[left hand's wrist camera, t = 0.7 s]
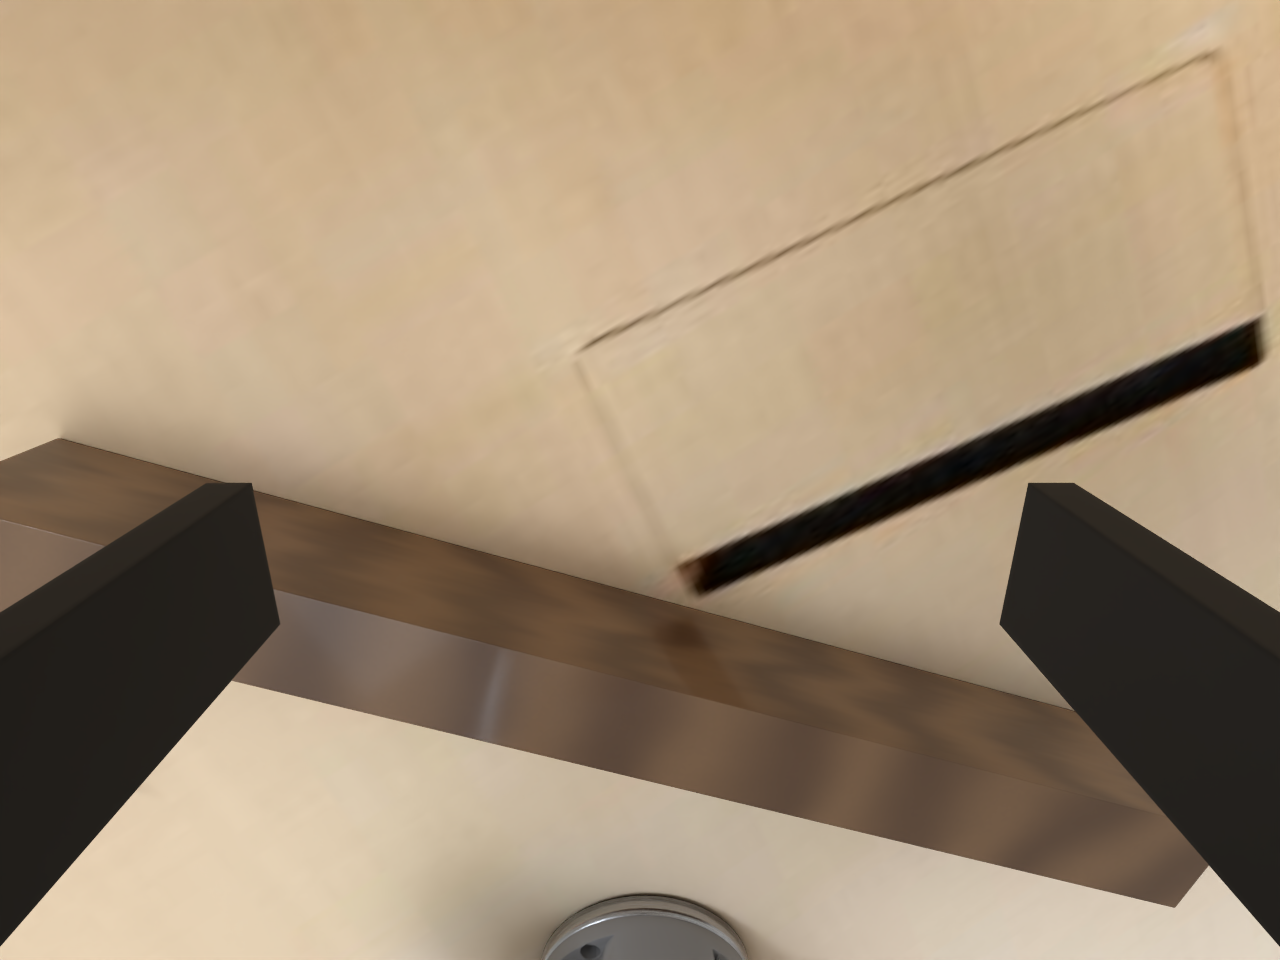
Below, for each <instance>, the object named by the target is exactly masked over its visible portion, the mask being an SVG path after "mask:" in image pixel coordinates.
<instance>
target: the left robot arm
mask: <svg viewBox="0 0 1280 960" xmlns="http://www.w3.org/2000/svg"><path fill="white" fill-rule="evenodd" d="M279 625H280V619H279V614H278V610H277V605H276V600H275V595H274V590H273V585H272V580H271V575H270V571H269V566H268V561H267V556H266V551H265V546H264V541H263V536H262V531H261V527H260V522H259V517H258V512H257V507H256V502H255V497H254V492H253V487H252V483H205V484H204V485H202V486H201V487H199V488H197V489H196V490H194V491H193V492H191V493H189V494H188V495H186V496H185V497H183V498H182V499H180V500H178V501H177V502H175V503H174V504H172V505H170V506H169V507H167V508H166V509H164V510H162V511H161V512H159V513H158V514H156V515H154V516H153V517H151V518H150V519H148V520H147V521H145V522H143V523H142V524H140V525H139V526H137V527H135V528H134V529H132V530H131V531H129V532H127V533H126V534H124V535H123V536H121V537H119V538H118V539H116V540H115V541H113V542H111V543H110V544H108V545H107V546H105V547H104V548H102V549H100V550H99V551H97V552H96V553H94V554H92V555H91V556H89V557H88V558H86V559H84V560H83V561H81V562H80V563H78V564H76V565H75V566H73V567H72V568H70V569H69V570H67V571H65V572H64V573H62V574H61V575H59V576H57V577H56V578H54V579H53V580H51V581H49V582H48V583H46V584H45V585H43V586H41V587H40V588H38V589H37V590H35V591H34V592H32V593H30V594H29V595H27V596H26V597H24V598H22V599H21V600H19V601H18V602H16V603H14V604H13V605H11V606H10V607H8V608H6V609H5V610H3V611H2V612H0V946H1V945H2V944H3V943H4V942H5V940H6V939H7V938H8V937H9V936H10V935H11V934H12V932H13V931H14V930H15V929H16V928H17V927H18V926H19V924H20V923H21V922H22V921H23V920H24V919H25V917H26V916H27V915H28V914H29V913H30V912H31V911H32V909H33V908H34V907H35V906H36V905H37V904H38V902H39V901H40V900H41V899H42V898H43V897H44V896H45V894H46V893H47V892H48V891H49V890H50V889H51V888H52V886H53V885H54V884H55V883H56V882H57V881H58V879H59V878H60V877H61V876H62V875H63V874H64V873H65V871H66V870H67V869H68V868H69V867H70V866H71V865H72V863H73V862H74V861H75V860H76V859H77V858H78V856H79V855H80V854H81V853H82V852H83V851H84V850H85V848H86V847H87V846H88V845H89V844H90V843H91V842H92V840H93V839H94V838H95V837H96V836H97V835H98V833H99V832H100V831H101V830H102V829H103V828H104V827H105V825H106V824H107V823H108V822H109V821H110V820H111V819H112V817H113V816H114V815H115V814H116V813H117V812H118V810H119V809H120V808H121V807H122V806H123V805H124V804H125V802H126V801H127V800H128V799H129V798H130V797H131V795H132V794H133V793H134V792H135V791H136V790H137V789H138V787H139V786H140V785H141V784H142V783H143V782H144V781H145V779H146V778H147V777H148V776H149V775H150V774H151V772H152V771H153V770H154V769H155V768H156V767H157V766H158V764H159V763H160V762H161V761H162V760H163V759H164V758H165V756H166V755H167V754H168V753H169V752H170V751H171V749H172V748H173V747H174V746H175V745H176V744H177V743H178V741H179V740H180V739H181V738H182V737H183V736H184V735H185V733H186V732H187V731H188V730H189V729H190V728H191V726H192V725H193V724H194V723H195V722H196V721H197V720H198V718H199V717H200V716H201V715H202V714H203V713H204V712H205V710H206V709H207V708H208V707H209V706H210V705H211V703H212V702H213V701H214V700H215V699H216V698H217V697H218V695H219V694H220V693H221V692H222V691H223V690H224V688H225V687H226V686H227V685H228V684H229V683H230V682H231V680H232V679H233V678H234V677H235V676H236V675H237V674H238V672H239V671H240V670H241V669H242V668H243V667H244V665H245V664H246V663H247V662H248V661H249V660H250V659H251V657H252V656H253V655H254V654H255V653H256V652H257V651H258V649H259V648H260V647H261V646H262V645H263V644H264V642H265V641H266V640H267V639H268V638H269V637H270V636H271V634H272V633H273V632H274V631H275V630H276V629H277V628H278V626H279ZM1000 625H1001V626H1002V628H1003V629H1004V630H1005V631H1006V632H1007V633H1008V634H1009V636H1010V637H1011V638H1012V639H1013V640H1014V641H1015V642H1016V644H1017V645H1018V646H1019V647H1020V648H1021V649H1022V651H1023V652H1024V653H1025V654H1026V655H1027V656H1028V657H1029V659H1030V660H1031V661H1032V662H1033V663H1034V664H1035V665H1036V667H1037V668H1038V669H1039V670H1040V671H1041V672H1042V674H1043V675H1044V676H1045V677H1046V678H1047V679H1048V680H1049V682H1050V683H1051V684H1052V685H1053V686H1054V687H1055V688H1056V690H1057V691H1058V692H1059V693H1060V694H1061V695H1062V697H1063V698H1064V699H1065V700H1066V701H1067V702H1068V703H1069V705H1070V706H1071V707H1072V708H1073V709H1074V710H1075V712H1076V713H1077V714H1078V715H1079V716H1080V717H1081V718H1082V720H1083V721H1084V722H1085V723H1086V724H1087V725H1088V726H1089V728H1090V729H1091V730H1092V731H1093V732H1094V733H1095V735H1096V736H1097V737H1098V738H1099V739H1100V740H1101V741H1102V743H1103V744H1104V745H1105V746H1106V747H1107V748H1108V749H1109V751H1110V752H1111V753H1112V754H1113V755H1114V756H1115V758H1116V759H1117V760H1118V761H1119V762H1120V763H1121V764H1122V766H1123V767H1124V768H1125V769H1126V770H1127V771H1128V772H1129V774H1130V775H1131V776H1132V777H1133V778H1134V779H1135V781H1136V782H1137V783H1138V784H1139V785H1140V786H1141V787H1142V789H1143V790H1144V791H1145V792H1146V793H1147V794H1148V795H1149V797H1150V798H1151V799H1152V800H1153V801H1154V802H1155V804H1156V805H1157V806H1158V807H1159V808H1160V809H1161V810H1162V812H1163V813H1164V814H1165V815H1166V816H1167V817H1168V819H1169V820H1170V821H1171V822H1172V823H1173V824H1174V825H1175V827H1176V828H1177V829H1178V830H1179V831H1180V832H1181V833H1182V835H1183V836H1184V837H1185V838H1186V839H1187V840H1188V842H1189V843H1190V844H1191V845H1192V846H1193V847H1194V848H1195V850H1196V851H1197V852H1198V853H1199V854H1200V855H1201V856H1202V858H1203V859H1204V860H1205V861H1206V862H1207V863H1208V865H1209V866H1210V867H1211V868H1212V869H1213V870H1214V871H1215V873H1216V874H1217V875H1218V876H1219V877H1220V878H1221V879H1222V881H1223V882H1224V883H1225V884H1226V885H1227V886H1228V888H1229V889H1230V890H1231V891H1232V892H1233V893H1234V894H1235V896H1236V897H1237V898H1238V899H1239V900H1240V901H1241V902H1242V904H1243V905H1244V906H1245V907H1246V908H1247V909H1248V911H1249V912H1250V913H1251V914H1252V915H1253V916H1254V917H1255V919H1256V920H1257V921H1258V922H1259V923H1260V924H1261V926H1262V927H1263V928H1264V929H1265V930H1266V931H1267V932H1268V934H1269V935H1270V936H1271V937H1272V938H1273V939H1274V940H1275V942H1276V943H1277V944H1278V945H1279V946H1280V612H1278V611H1277V610H1275V609H1274V608H1272V607H1270V606H1269V605H1267V604H1266V603H1264V602H1262V601H1261V600H1259V599H1258V598H1256V597H1254V596H1253V595H1251V594H1250V593H1248V592H1246V591H1245V590H1243V589H1242V588H1240V587H1239V586H1237V585H1235V584H1234V583H1232V582H1231V581H1229V580H1227V579H1226V578H1224V577H1223V576H1221V575H1219V574H1218V573H1216V572H1215V571H1213V570H1211V569H1210V568H1208V567H1207V566H1205V565H1204V564H1202V563H1200V562H1199V561H1197V560H1196V559H1194V558H1192V557H1191V556H1189V555H1188V554H1186V553H1184V552H1183V551H1181V550H1180V549H1178V548H1176V547H1175V546H1173V545H1172V544H1170V543H1169V542H1167V541H1165V540H1164V539H1162V538H1161V537H1159V536H1157V535H1156V534H1154V533H1153V532H1151V531H1149V530H1148V529H1146V528H1145V527H1143V526H1141V525H1140V524H1138V523H1137V522H1135V521H1133V520H1132V519H1130V518H1129V517H1127V516H1126V515H1124V514H1122V513H1121V512H1119V511H1118V510H1116V509H1114V508H1113V507H1111V506H1110V505H1108V504H1106V503H1105V502H1103V501H1102V500H1100V499H1098V498H1097V497H1095V496H1094V495H1092V494H1091V493H1089V492H1087V491H1086V490H1084V489H1083V488H1081V487H1079V486H1078V485H1076V484H1075V483H1028V487H1027V492H1026V497H1025V502H1024V507H1023V512H1022V517H1021V522H1020V527H1019V531H1018V536H1017V541H1016V546H1015V551H1014V556H1013V561H1012V566H1011V571H1010V575H1009V580H1008V585H1007V590H1006V595H1005V600H1004V605H1003V610H1002V614H1001V619H1000ZM541 960H748V957H747V953H746V950H745V948H744V945H743V943H742V941H741V940H740V938H739V936H738V935H737V934H736V933H735V931H734V930H733V929H732V928H731V927H730V926H729V925H728V924H727V923H726V922H724V921H723V920H722V919H721V918H719V917H718V916H716V915H715V914H713V913H711V912H710V911H708V910H706V909H704V908H702V907H699V906H697V905H694V904H692V903H689V902H686V901H682V900H678V899H673V898H667V897H659V896H630V897H622V898H616V899H612V900H608V901H604V902H601V903H598V904H595V905H592V906H590V907H588V908H586V909H583V910H582V911H580V912H578V913H576V914H575V915H573V916H572V917H570V918H569V919H567V920H566V921H565V922H564V923H563V924H561V925H560V926H559V927H558V928H557V929H556V931H555V932H554V933H553V934H552V936H551V937H550V939H549V940H548V942H547V944H546V946H545V948H544V951H543V955H542V959H541Z"/></svg>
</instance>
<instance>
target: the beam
mask: <svg viewBox="0 0 1280 960" xmlns="http://www.w3.org/2000/svg"><path fill="white" fill-rule="evenodd" d="M205 483H223V482H219V481H215V480H212V479H208V478H204V477H200V476H197V475H193V474H189V473H186V472H182V471H178V470H174V469H171V468H167V467H163V466H159V465H156V464H152V463H148V462H145V461H141V460H137V459H133V458H130V457H126V456H122V455H119V454H115V453H111V452H107V451H104V450H100V449H96V448H92V447H89V446H85V445H81V444H78V443H74V442H70V441H66V440H63V439H59V438H58V439H55V440H53V441H50V442H48V443H45V444H43V445H40V446H38V447H35V448H33V449H30V450H28V451H25V452H23V453H20V454H18V455H15V456H13V457H10V458H8V459H5V460H3V461H0V612H2V611H3V610H5V609H6V608H8V607H10V606H11V605H13V604H14V603H16V602H18V601H19V600H21V599H22V598H24V597H26V596H27V595H29V594H30V593H32V592H34V591H35V590H37V589H38V588H40V587H41V586H43V585H45V584H46V583H48V582H49V581H51V580H53V579H54V578H56V577H57V576H59V575H61V574H62V573H64V572H65V571H67V570H69V569H70V568H72V567H73V566H75V565H76V564H78V563H80V562H81V561H83V560H84V559H86V558H88V557H89V556H91V555H92V554H94V553H96V552H97V551H99V550H100V549H102V548H104V547H105V546H107V545H108V544H110V543H111V542H113V541H115V540H116V539H118V538H119V537H121V536H123V535H124V534H126V533H127V532H129V531H131V530H132V529H134V528H135V527H137V526H139V525H140V524H142V523H143V522H145V521H147V520H148V519H150V518H151V517H153V516H154V515H156V514H158V513H159V512H161V511H162V510H164V509H166V508H167V507H169V506H170V505H172V504H174V503H175V502H177V501H178V500H180V499H182V498H183V497H185V496H186V495H188V494H189V493H191V492H193V491H194V490H196V489H197V488H199V487H201V486H202V485H204V484H205ZM253 492H254V497H255V502H256V507H257V512H258V517H259V522H260V527H261V531H262V536H263V541H264V546H265V551H266V556H267V561H268V566H269V571H270V575H271V580H272V585H273V590H274V595H275V600H276V605H277V610H278V614H279V619H280V625H279V626H278V628H277V629H276V630H275V631H274V632H273V633H272V634H271V636H270V637H269V638H268V639H267V640H266V641H265V642H264V644H263V645H262V646H261V647H260V648H259V649H258V651H257V652H256V653H255V654H254V655H253V656H252V657H251V659H250V660H249V661H248V662H247V663H246V664H245V665H244V667H243V668H242V669H241V670H240V671H239V672H238V674H237V675H236V676H235V677H234V678H233V679H232V680H231V681H235V682H240V683H244V684H248V685H252V686H256V687H260V688H265V689H269V690H273V691H277V692H281V693H285V694H289V695H294V696H298V697H302V698H306V699H310V700H314V701H318V702H323V703H327V704H331V705H335V706H339V707H343V708H348V709H352V710H356V711H360V712H364V713H368V714H372V715H377V716H381V717H385V718H389V719H393V720H397V721H401V722H406V723H410V724H414V725H418V726H422V727H426V728H431V729H435V730H439V731H443V732H447V733H451V734H455V735H460V736H464V737H468V738H472V739H476V740H480V741H485V742H489V743H493V744H497V745H501V746H505V747H509V748H514V749H518V750H522V751H526V752H530V753H534V754H538V755H543V756H547V757H551V758H555V759H559V760H563V761H568V762H572V763H576V764H580V765H584V766H588V767H592V768H597V769H601V770H605V771H609V772H613V773H617V774H621V775H626V776H630V777H634V778H638V779H642V780H646V781H651V782H655V783H659V784H663V785H667V786H671V787H675V788H680V789H684V790H688V791H692V792H696V793H700V794H705V795H709V796H713V797H717V798H721V799H725V800H729V801H734V802H738V803H742V804H746V805H750V806H754V807H758V808H763V809H767V810H771V811H775V812H779V813H783V814H788V815H792V816H796V817H800V818H804V819H808V820H812V821H817V822H821V823H825V824H829V825H833V826H837V827H841V828H846V829H850V830H854V831H858V832H862V833H866V834H871V835H875V836H879V837H883V838H887V839H891V840H895V841H900V842H904V843H908V844H912V845H916V846H920V847H925V848H929V849H933V850H937V851H941V852H945V853H949V854H954V855H958V856H962V857H966V858H970V859H974V860H978V861H983V862H987V863H991V864H995V865H999V866H1003V867H1008V868H1012V869H1016V870H1020V871H1024V872H1028V873H1032V874H1037V875H1041V876H1045V877H1049V878H1053V879H1057V880H1061V881H1066V882H1070V883H1074V884H1078V885H1082V886H1086V887H1091V888H1095V889H1099V890H1103V891H1107V892H1111V893H1115V894H1120V895H1124V896H1128V897H1132V898H1136V899H1140V900H1145V901H1149V902H1153V903H1157V904H1161V905H1165V906H1169V907H1174V908H1175V907H1176V906H1177V904H1178V903H1179V902H1180V901H1181V899H1182V898H1183V897H1184V896H1185V894H1186V893H1187V892H1188V891H1189V889H1190V888H1191V887H1192V886H1193V884H1194V883H1195V882H1196V881H1197V879H1198V878H1199V877H1200V876H1201V874H1202V873H1203V872H1204V871H1205V869H1206V868H1207V867H1208V866H1209V865H1208V863H1207V862H1206V861H1205V860H1204V859H1203V858H1202V856H1201V855H1200V854H1199V853H1198V852H1197V851H1196V850H1195V848H1194V847H1193V846H1192V845H1191V844H1190V843H1189V842H1188V840H1187V839H1186V838H1185V837H1184V836H1183V835H1182V833H1181V832H1180V831H1179V830H1178V829H1177V828H1176V827H1175V825H1174V824H1173V823H1172V822H1171V821H1170V820H1169V819H1168V817H1167V816H1166V815H1165V814H1164V813H1163V812H1162V810H1161V809H1160V808H1159V807H1158V806H1157V805H1156V804H1155V802H1154V801H1153V800H1152V799H1151V798H1150V797H1149V795H1148V794H1147V793H1146V792H1145V791H1144V790H1143V789H1142V787H1141V786H1140V785H1139V784H1138V783H1137V782H1136V781H1135V779H1134V778H1133V777H1132V776H1131V775H1130V774H1129V772H1128V771H1127V770H1126V769H1125V768H1124V767H1123V766H1122V764H1121V763H1120V762H1119V761H1118V760H1117V759H1116V758H1115V756H1114V755H1113V754H1112V753H1111V752H1110V751H1109V749H1108V748H1107V747H1106V746H1105V745H1104V744H1103V743H1102V741H1101V740H1100V739H1099V738H1098V737H1097V736H1096V735H1095V733H1094V732H1093V731H1092V730H1091V729H1090V728H1089V726H1088V725H1087V724H1086V723H1085V722H1084V721H1083V720H1082V718H1081V717H1080V716H1079V715H1078V714H1077V713H1076V712H1075V711H1071V710H1068V709H1064V708H1060V707H1056V706H1053V705H1049V704H1045V703H1042V702H1038V701H1034V700H1030V699H1027V698H1023V697H1019V696H1016V695H1012V694H1008V693H1004V692H1001V691H997V690H993V689H989V688H986V687H982V686H978V685H975V684H971V683H967V682H963V681H960V680H956V679H952V678H949V677H945V676H941V675H937V674H934V673H930V672H926V671H922V670H919V669H915V668H911V667H908V666H904V665H900V664H896V663H893V662H889V661H885V660H882V659H878V658H874V657H870V656H867V655H863V654H859V653H855V652H852V651H848V650H844V649H841V648H837V647H833V646H829V645H826V644H822V643H818V642H815V641H811V640H807V639H803V638H800V637H796V636H792V635H788V634H785V633H781V632H777V631H774V630H770V629H766V628H762V627H759V626H755V625H751V624H748V623H744V622H740V621H736V620H733V619H729V618H725V617H721V616H718V615H714V614H710V613H707V612H703V611H699V610H695V609H692V608H688V607H684V606H681V605H677V604H673V603H669V602H666V601H662V600H658V599H654V598H651V597H647V596H643V595H640V594H636V593H632V592H628V591H625V590H621V589H617V588H614V587H610V586H606V585H602V584H599V583H595V582H591V581H588V580H584V579H580V578H576V577H573V576H569V575H565V574H561V573H558V572H554V571H550V570H547V569H543V568H539V567H535V566H532V565H528V564H524V563H521V562H517V561H513V560H509V559H506V558H502V557H498V556H494V555H491V554H487V553H483V552H480V551H476V550H472V549H468V548H465V547H461V546H457V545H454V544H450V543H446V542H442V541H439V540H435V539H431V538H427V537H424V536H420V535H416V534H413V533H409V532H405V531H401V530H398V529H394V528H390V527H387V526H383V525H379V524H375V523H372V522H368V521H364V520H360V519H357V518H353V517H349V516H346V515H342V514H338V513H334V512H331V511H327V510H323V509H320V508H316V507H312V506H308V505H305V504H301V503H297V502H293V501H290V500H286V499H282V498H279V497H275V496H271V495H267V494H264V493H260V492H256V491H253Z"/></svg>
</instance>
